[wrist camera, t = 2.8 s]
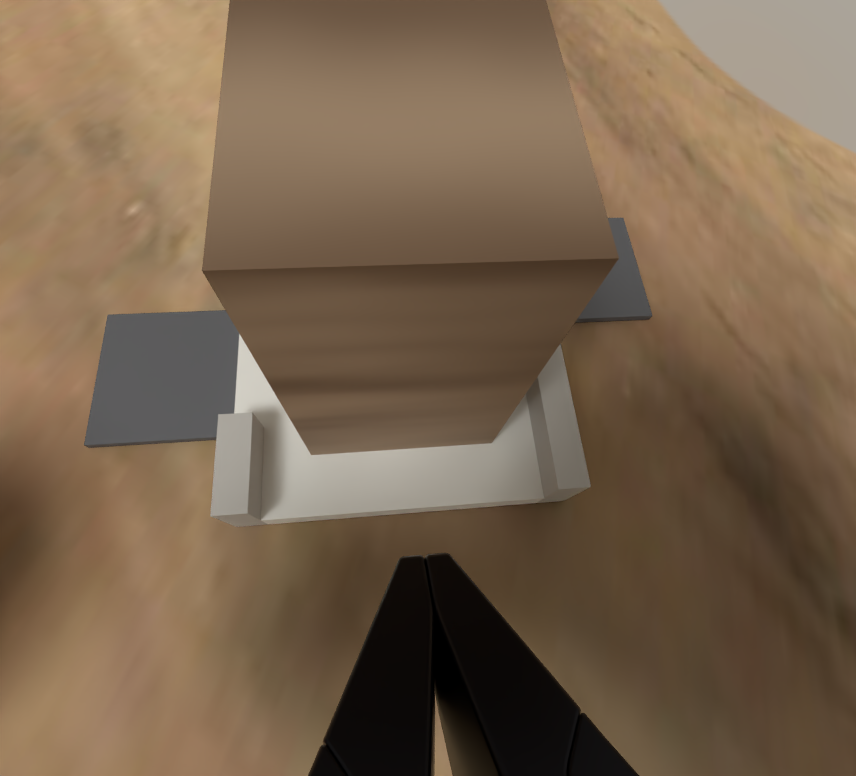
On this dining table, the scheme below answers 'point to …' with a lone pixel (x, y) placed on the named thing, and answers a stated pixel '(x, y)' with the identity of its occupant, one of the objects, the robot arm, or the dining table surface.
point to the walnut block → (401, 213)
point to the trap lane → (343, 472)
